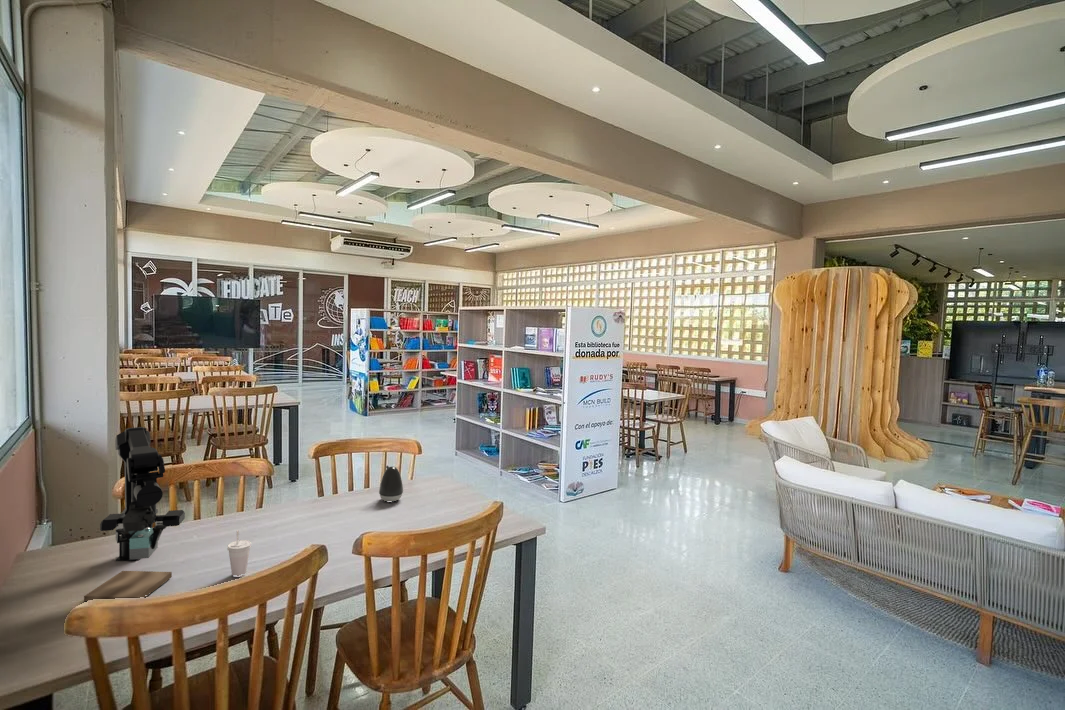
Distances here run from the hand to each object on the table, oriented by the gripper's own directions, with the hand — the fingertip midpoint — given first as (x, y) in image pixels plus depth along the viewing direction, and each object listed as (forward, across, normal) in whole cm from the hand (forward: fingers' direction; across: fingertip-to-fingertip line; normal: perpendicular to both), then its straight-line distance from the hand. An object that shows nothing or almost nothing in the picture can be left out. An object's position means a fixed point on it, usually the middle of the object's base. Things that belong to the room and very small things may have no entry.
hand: (143, 549), depth 147 cm
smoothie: (+11, +24, +1) cm, 27 cm away
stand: (+11, -3, -2) cm, 11 cm away
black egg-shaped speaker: (+11, +72, +58) cm, 94 cm away
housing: (+1, 0, 0) cm, 1 cm away
